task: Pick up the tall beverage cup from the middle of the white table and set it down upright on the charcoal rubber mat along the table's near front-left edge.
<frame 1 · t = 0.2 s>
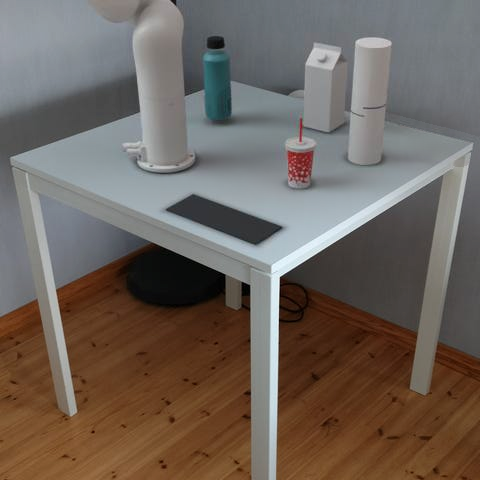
milk carton: (323, 126, 189), on the table
beverage bottle: (218, 121, 192), on the table
cylindrical container: (364, 159, 173), on the table
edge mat: (222, 218, 150), on the table
beverage cup: (299, 184, 163), on the table
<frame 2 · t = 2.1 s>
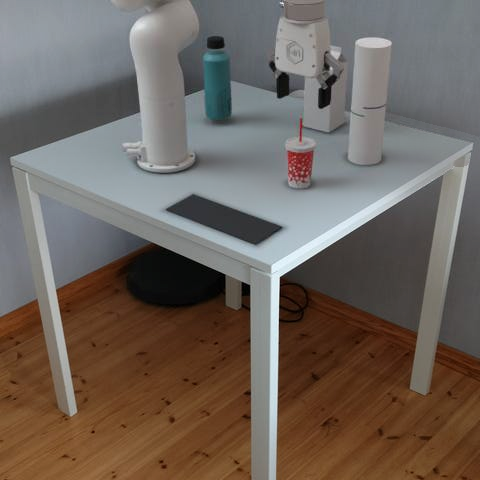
hand: (303, 101, 153), 17 cm above the table, tool pointing down, fingers open, 9 cm apart
nothing on the table moved.
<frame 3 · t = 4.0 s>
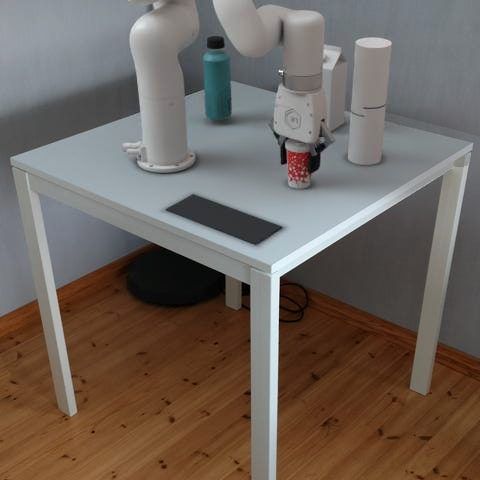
hand: (299, 166, 160), 4 cm above the table, tool pointing down, fingers closed on beverage cup, 6 cm apart
beverage cup: (299, 184, 163), on the table, touching gripper
everything else where it was.
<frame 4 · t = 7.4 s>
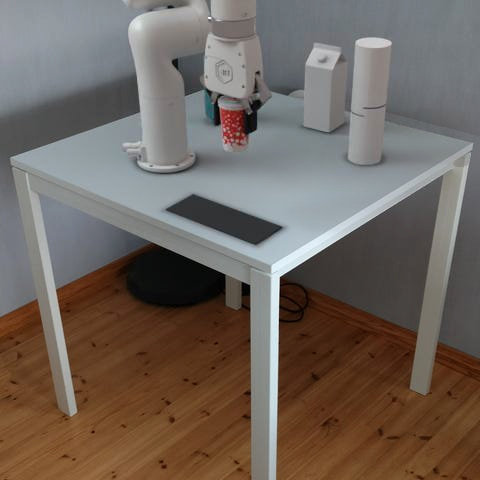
hand: (235, 127, 143), 17 cm above the table, tool pointing down, fingers closed on beverage cup, 6 cm apart
beverage cup: (235, 148, 145), point 13 cm above the table, touching gripper
everything else where it was.
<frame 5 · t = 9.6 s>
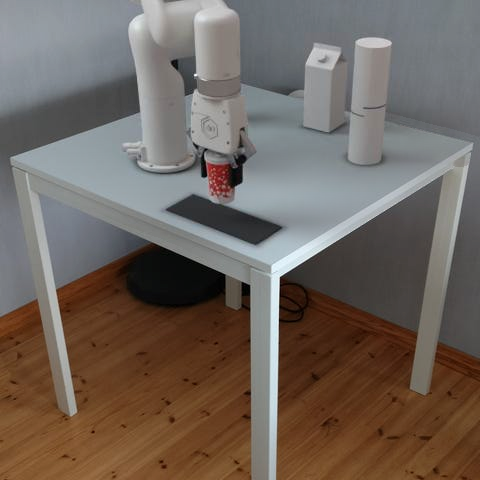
hand: (221, 179, 146), 8 cm above the table, tool pointing down, fingers closed on beverage cup, 6 cm apart
beverage cup: (222, 199, 148), point 4 cm above the table, touching gripper
everything else where it was.
when the fingers open (4 cm above the table, at t = 11.1 s): beverage cup stays where it is, resting on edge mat.
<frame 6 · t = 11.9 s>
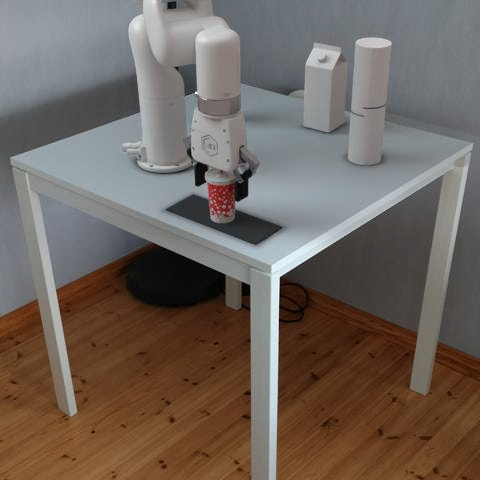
hand: (221, 191, 148), 6 cm above the table, tool pointing down, fingers open, 9 cm apart
beverage cup: (222, 218, 150), resting on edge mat
everything else where it was.
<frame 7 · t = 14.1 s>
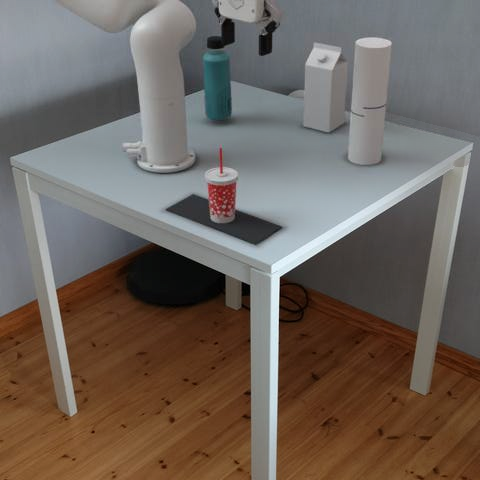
hand: (246, 49, 154), 26 cm above the table, tool pointing down, fingers open, 9 cm apart
nothing on the table moved.
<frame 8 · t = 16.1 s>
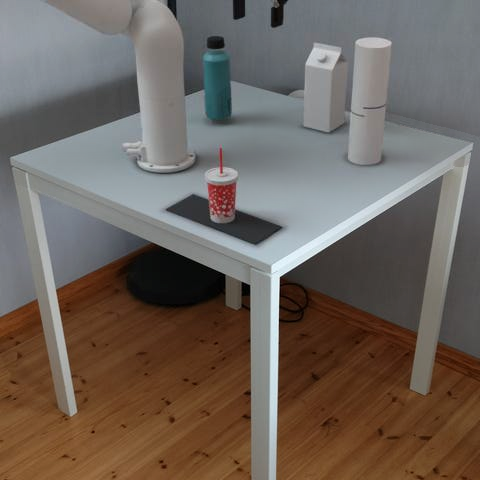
hand: (257, 22, 160), 28 cm above the table, tool pointing down, fingers open, 9 cm apart
nothing on the table moved.
at the end: beverage cup 0.0 cm from the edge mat (horizontally); beverage cup tilted 0°; beverage cup resting on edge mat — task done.
